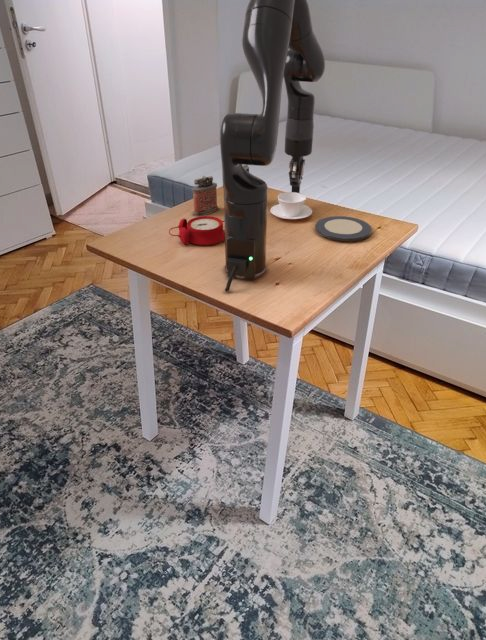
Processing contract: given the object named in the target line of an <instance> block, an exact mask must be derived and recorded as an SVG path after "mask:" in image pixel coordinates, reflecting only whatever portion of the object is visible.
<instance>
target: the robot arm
mask: <svg viewBox="0 0 486 640" xmlns="http://www.w3.org/2000/svg"><path fill="white" fill-rule="evenodd" d="M241 47H242V52H243V55H244V58H245V60H246V63H247V65H248V67H249V70H250V71H251V73H252V75H253V77H254V79H255V83H256V84H257V88H258V90H259V93H260V97H261V101H262V102H261V103H262V109H261V113H260V114H258V113H244V112H243V113H241V112H229V113H227V114H225V115H224V116H223V118H222V121H221V123H220V130H219V150H220V158H221V160H220V161H221V172H222V174H221V175H222V187H223V212H224V213H223V215H224V216H223V217H224V218H223V219H224V220H223V221H225V222H224V230H225V231H224V232H225V239H224V255H225V256H224V257H225V265H224V270H225V273H226V274H227V278H228V279H227V283H226V285H225V288H224V291H225V292H226V293H228V292H229V291H230V289H231V285H232V282H233V279H238V280H239V279H240V280H246V281H255V279H256V278H259V277H262V276H263V275H264V274H265V273H266V271H267V268H266V267H267V265H266V262H267V261H266V257H267V226H268V194H269V190H268V189H269V187H268V184H267V182H266V181H265V180H263V179H262V178H260V177H258V176H256V175H254V174H252V173H250V171H249V172H248V171H247V170H246V169H245V168H244V167H243V166H242V164H243V165H248V166H258V167H259V166H261V167H267V166H269V165H271V164H272V162H273V160H274V158H275V156H276V151H277V143H278V136H279V125H280V115H281V114H280V113H281V103H282V102H281V101H282V91H283V82H284V86H285V91H286V98H287V111H286V121H285V122H286V123H285V133H284V154H285V155H288V156H289V157H291V159H290V160H289V163H288V168H289V171H288V177H289V186H291V192H296V193H300V191H301V185H302V180H303V176H304V172H305V171H304V170H305V165H306V159H304V157H307V156H310V155H312V152H313V139H314V123H315V122H314V113H315V102H316V99H315V95H314V94H313V93H312V92H310V91H307V90H306V89H304V88H303V87H302V85H301V83H300V82H303V83H316V82H318V81H320V80H321V79H322V78H323V75H324V73H325V69H326V60H325V55H324V51H323V49H322V46H321V45H320V43H319V41H318V39H317V37H316V34H315V32H314V30H313V24H312V17H311V10H310V6H309V2H308V0H249V1H248V4H247V7H246V11H245V16H244V22H243V30H242V38H241Z"/></svg>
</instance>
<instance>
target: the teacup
mask: <svg viewBox="0 0 486 640" xmlns="http://www.w3.org/2000/svg"><path fill="white" fill-rule="evenodd" d="M277 201H278V203H277V204H274V205H273V206H271V207H270V213H271V215H274V216H275V217H277V218H280V219H286V220H301V219H305V218H308V217H310V216H312V214H313V209H312V208H311V207H309V206H308V205H306V204H305V203H306V201H307V196H306V195H305V194H304V193H296V192H292V191H287V192H282V193H281V192H280V193H279V194H278V195H277Z"/></svg>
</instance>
